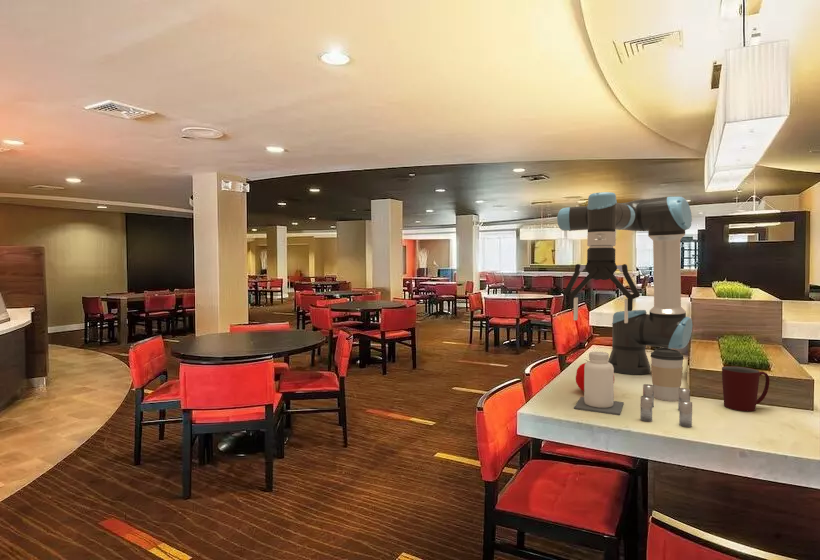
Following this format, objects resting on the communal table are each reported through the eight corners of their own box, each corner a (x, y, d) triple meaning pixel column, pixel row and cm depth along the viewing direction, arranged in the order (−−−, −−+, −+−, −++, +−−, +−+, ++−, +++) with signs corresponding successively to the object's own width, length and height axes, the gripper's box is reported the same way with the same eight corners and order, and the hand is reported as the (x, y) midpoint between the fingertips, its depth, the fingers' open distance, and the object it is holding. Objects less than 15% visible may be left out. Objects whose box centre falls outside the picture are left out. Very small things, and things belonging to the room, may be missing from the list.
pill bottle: (579, 400, 142) (579, 350, 142) (605, 400, 143) (605, 350, 143) (591, 409, 135) (592, 356, 134) (618, 408, 135) (619, 355, 135)
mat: (580, 398, 147) (580, 396, 147) (623, 403, 141) (623, 402, 141) (574, 408, 136) (574, 407, 136) (619, 415, 131) (619, 413, 131)
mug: (757, 403, 141) (758, 366, 140) (778, 413, 132) (779, 373, 132) (714, 402, 142) (715, 365, 142) (732, 412, 133) (732, 372, 133)
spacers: (643, 404, 141) (643, 383, 141) (689, 409, 135) (689, 388, 135) (640, 420, 126) (640, 398, 126) (692, 428, 121) (692, 404, 120)
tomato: (573, 387, 160) (573, 356, 159) (610, 389, 157) (610, 358, 157) (578, 397, 148) (578, 364, 147) (618, 399, 146) (618, 366, 145)
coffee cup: (687, 402, 142) (688, 352, 142) (654, 401, 144) (655, 351, 143) (677, 394, 151) (677, 347, 150) (646, 393, 153) (646, 346, 152)
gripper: (553, 247, 140) (553, 320, 141) (649, 246, 128) (648, 325, 129) (559, 248, 146) (558, 317, 147) (650, 246, 134) (649, 322, 135)
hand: (600, 321), depth 138 cm, fingers open, 13 cm apart
